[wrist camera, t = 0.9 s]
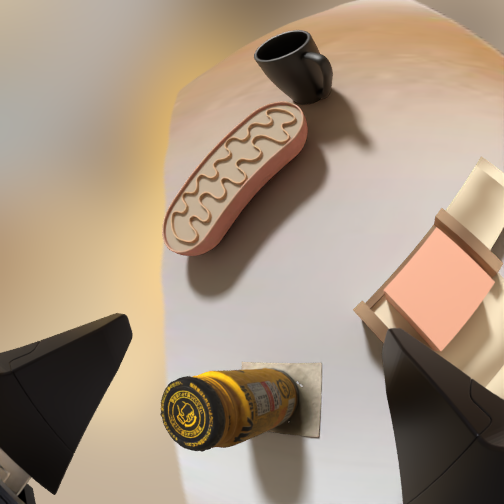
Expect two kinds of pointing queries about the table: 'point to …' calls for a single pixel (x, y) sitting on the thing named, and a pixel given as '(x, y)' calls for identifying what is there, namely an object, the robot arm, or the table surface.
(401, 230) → the table surface
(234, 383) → the condiment
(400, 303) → the coral block
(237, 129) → the anatomical model
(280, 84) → the mug
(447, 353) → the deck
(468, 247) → the cubby
